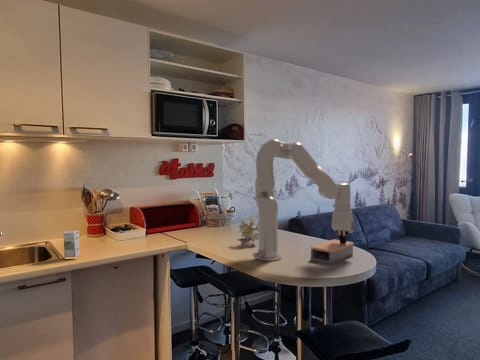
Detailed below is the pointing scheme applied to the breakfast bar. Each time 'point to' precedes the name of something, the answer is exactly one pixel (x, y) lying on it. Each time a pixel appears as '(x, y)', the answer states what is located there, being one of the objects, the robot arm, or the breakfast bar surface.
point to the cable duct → (332, 255)
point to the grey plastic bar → (325, 256)
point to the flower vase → (249, 231)
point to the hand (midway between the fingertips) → (343, 243)
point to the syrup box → (71, 243)
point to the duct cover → (332, 246)
